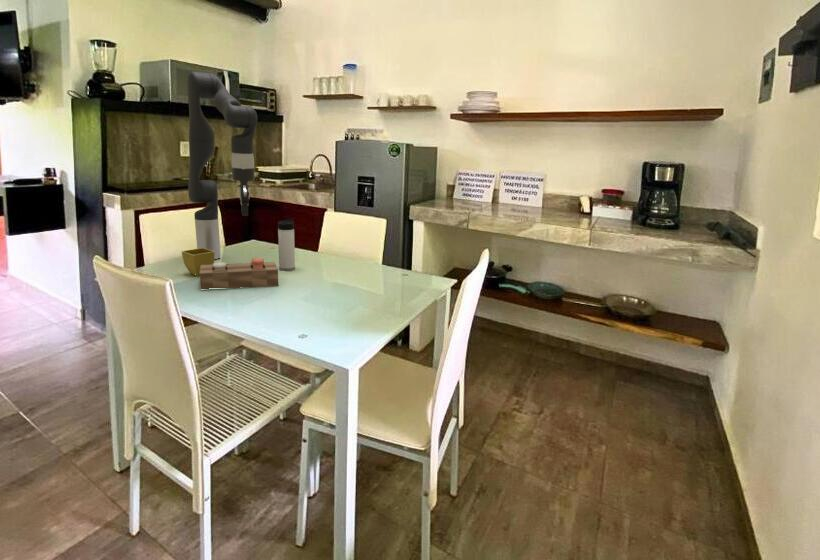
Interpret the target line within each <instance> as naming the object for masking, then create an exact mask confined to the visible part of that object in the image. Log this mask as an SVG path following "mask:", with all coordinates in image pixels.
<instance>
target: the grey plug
mask: <svg viewBox="0 0 820 560" xmlns="http://www.w3.org/2000/svg"><path fill="white" fill-rule="evenodd" d="M226 264H227V262H224V261H218V262H214V263H213V268H215V270H225V267H226Z"/></svg>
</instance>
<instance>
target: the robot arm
mask: <svg viewBox="0 0 820 560" xmlns="http://www.w3.org/2000/svg"><path fill="white" fill-rule="evenodd" d="M186 82H187V83H186V85H187V86H186V87H187V98H188V99H187V100H188V113H189V114H188V115H189V128H188V129H189V131H188V145H189V146H188V148H189V150H188V151H189V152H188V153H189V173H188V186H187V187H188V188H187V189H188V190H187V191H188V193H187V194H188V197H189V198H188V199H189V200H190V201H191V203H194V204H201V203H203V204H204V203H205V204H206V206H205V207H202V208H201V209H198V210H196V211H195V212H194V215H193V216H194V225H195V227H194V228H195V238H196V241H195V242H196V249H198V248H205V249H208V250H212V251H215V253H214V259H217V260H219V259H218V258H220V257H222V256H221V255H222V254H221V240H220V239H221V238H220V237H221V236H220V225H219V191H218V190H219V189H218V185H217V183H216V181H215V180H212V179H211V180H210V179H201V180H200V177H201V174H202V172H203V169H204V167H205V166H206V164H207V163H208V162H209V160H210V159H211V157H212V156H213V154H214V152H215V139H216V138H215V132H214V130H213V128H212V126H211V124H210V122H208V120H207V119H206V117H205V115H204V113H203V111H202V108H201V107H202V106H201V99H203V100H204V99H206V100H213V103H214V106H215V108H216V109H217V110H218V111H219V113H221V114H222V116H223V117H224V122H225V123H226V125H227V126H229V127H232V128H241V129H243V130H242V133H240V134H235V135H233V136H231V138H230V139H231V142H230V143H231V161H230V162H231V178H232V180H233V181H236V182H239V184H238V185H237V190H238V197H239V201H240V205H241V216H242V217H248V216H249V205H250V198H251V197H250V196H251V195H250V194H251V193H250V192H251V185H249V184H248V182H252V181H253V182H254V181H255V179H256V178H255V177H256V174H255V159H254V137H255V132H256V128H257V125H258V113H257V111H256V110H255V108H254V107H251V106H243V105H242V104H241V103H240V101H239V100H238V99H237V98H235V97H234V96H233V95H231V94H230V93H229V91H228V89H227V87H225V85H224V84H223V82H222V80H221V79H220V78H219V77H218V75H216V74H215V73H211V72H204V71H189V72H188V74H187V80H186ZM220 259H221V258H220Z"/></svg>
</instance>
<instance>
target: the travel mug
mask: <svg viewBox="0 0 820 560" xmlns="http://www.w3.org/2000/svg"><path fill="white" fill-rule="evenodd" d="M294 224H295V223H294V220H291V219H290V218H289V219H288V218H287V219H286V218H285V219H283V220H279V221H278V222H277V238H278V265H279V266H278V270H280V271H283V272H284V271H288V272H291V271H294V270H295V269H296V259H295V258H296V257H295V254H296V252H295V225H294Z"/></svg>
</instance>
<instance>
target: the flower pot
mask: <svg viewBox="0 0 820 560" xmlns="http://www.w3.org/2000/svg"><path fill="white" fill-rule="evenodd" d="M180 252H181V255H182V259H183V263H184V266H185V268H186V269H187V271H188V272H189V273H190V272H191V273H193V274H192V275H194V274H196V275H200V274H199V273H200V266H201V265H213V263H215V260H214V253H215V251H212V250H208V249H205V248H198V249H197V248H193V249H187V250H182V251H180ZM191 273H190V274H191ZM196 275H195V276H196Z"/></svg>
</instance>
